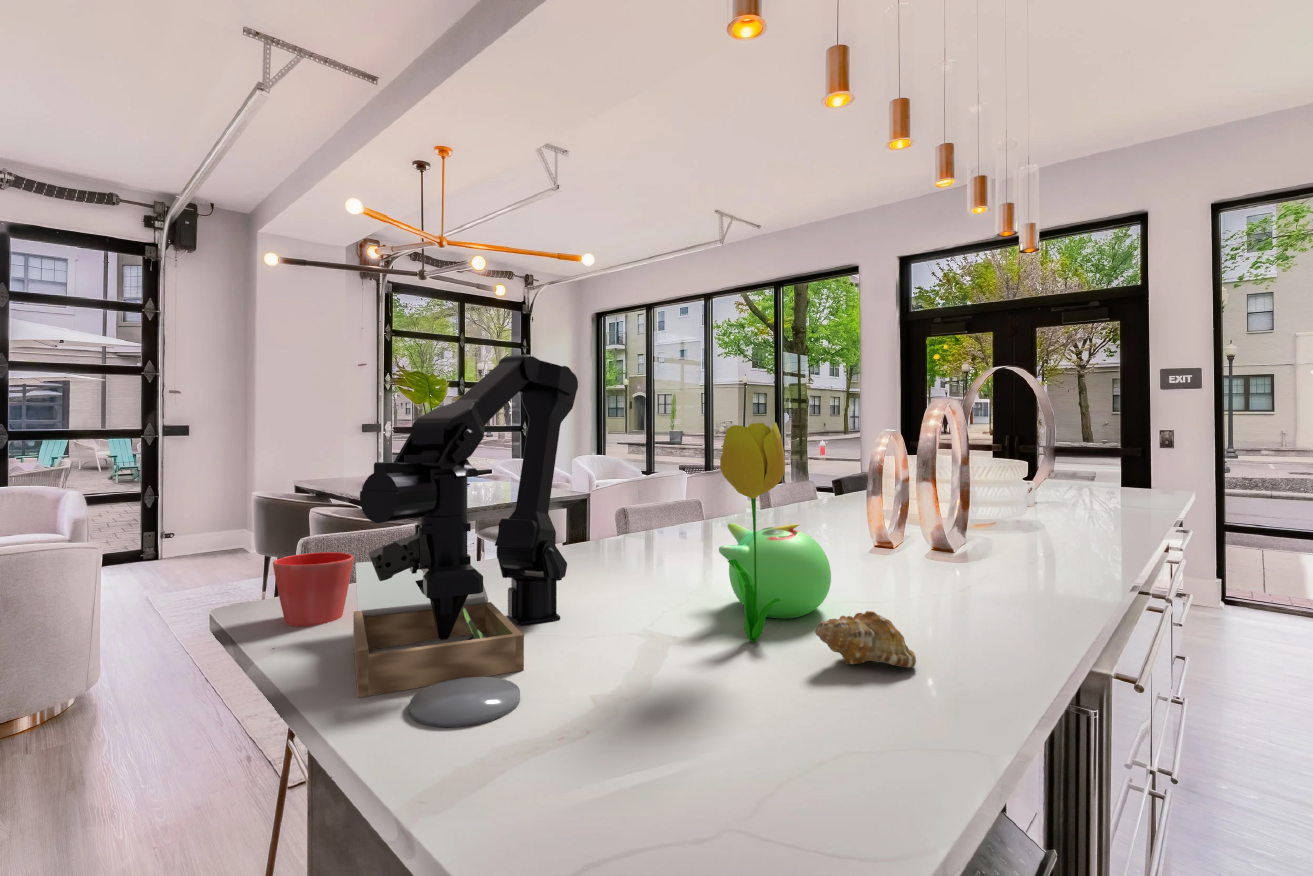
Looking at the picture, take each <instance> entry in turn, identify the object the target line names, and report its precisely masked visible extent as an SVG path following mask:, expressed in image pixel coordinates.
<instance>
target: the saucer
mask: <svg viewBox="0 0 1313 876" xmlns="http://www.w3.org/2000/svg"><path fill="white" fill-rule="evenodd" d="M520 702H521V690H520V687H519V686H518V685H517V684H515V683H514V682H512V681H511V680H507V679H503V678H501V677H500V678H499V677H494V676H493V677H491V676H485V677H468V678H459V679H453V680H449V681H444V682H441V683H437V684H435V685H431V686H426V688H423V689H421V690H420V691H418V692H416V693H415V694H414V695H413V696H412V698H411V699H409V715H410V717H411V718H412V720H414V721H416V722H417V723H420V724H423V725H425V726H430V727H438V728H463V727H469V726H475V725H480V724H485V723H488V722H489V723H490V722H491V721H494V720H497V719H499V718H502V717H505V716H506V715H508V714H510V713H511V712H513V711H514V710H515V709H517V707H518V706H519V704H520Z"/></svg>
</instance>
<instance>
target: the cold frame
mask: <svg viewBox="0 0 1313 876" xmlns="http://www.w3.org/2000/svg"><path fill="white" fill-rule="evenodd" d="M464 608H465V609H466V611H467V613H468V615H469V617H470V619H471V621H472V622H473V623H474V625H475V627H476V629H478V630H479V631H480V632H481V633H484V632H485V633H486V635H487V637H485V638H480V639H475V638H474V639H473V638H472V639H471V640H468V639H467V640H461V641H460V640H459V641H452V642H445V643H439V644H431V645H430V644H429V645H423V646H418V647H408V648H402V649H401V648H400V649H395V650H394V649H393V650H389V651H381V652H373V653H369V650H375V649H381V648H387V647H395V646H401V645H408V644H414V643H420V642H426V641H427V642H428V641H433V640H440V639H439V638H438V634H437V629H436V625H435V620H434V616H433V611H432V610H427V611H418V612H409V613H400V614H392V615H383V616H374V617H365V618H363V614H362V611H357V610H356V611H353V628H352V629H353V631H352V632H353V634H352V635H353V640H352V641H353V659H354V660H353V661H354V670H355V680H356V690H357V698H364V697H369V696H374V695H376V696H377V695H381V694H387V693H394V692H399V691H400V692H401V691H406V690H412V689H418V688H419V689H420V688H423V687H429V686H432V685H435V684H437V683H441V682H444V681H449V680H453V679H459V678H468V677H491V676H497V675H502V674H508V673H515V672H521V671H525V640H524V639H525V635H524V634H523V632H522V631H520V630H519V628H518V627H516V626H515V624H513V623H512V622H511V620H510V619H509V618H508V617H506V616H505V615H504V613H502V612H501V611H500V610H499V609H498V608H497V607H496V605H494V604H493V603H492V602H491V601H490V602H489V601H488V603H485V604H479V605H471V606H463V607H462V609H461V611H460V614H459V616H458V618H457V620H456V623H455V625H454V627H453V629H452V632H451V634H450V636H449V638H451V637H452V638H453V637H459V636H465V635H473V634H472V632H471V630H470V627H469V626H468V623H467V621H466V619H465V616H464V611H463V609H464Z"/></svg>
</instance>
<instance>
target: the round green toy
mask: <svg viewBox="0 0 1313 876" xmlns="http://www.w3.org/2000/svg"><path fill="white" fill-rule="evenodd" d="M800 525H801V524H800V523H792V524H786V525H782V526H781V525H780V526H774V527H773V526H771V527H765V528H762V529H760V530H756V572H757V605H758V609H759V612H760V613H761V611H762V609H763V608H764V606H766V605H767V604H768V603H770V602H771V601H772V600H774V599H775V598H776V599H777V598H778V599H780V601H778V602H775V603H774V604H773V606H772V607H771V608H770V610H769V612H768V614H767V617H766V618H769V619H779V620H780V619H781V620H784V619H785V620H788V619H796V618H800V617H803V616H805V615H808V614H810V613H811V612H813V611H815V610H816V609H817V608H819V607H820V606H821V605H822V603H824V601H825V599H826V598H827V596H828V594H829V592H830V588H831V583H832V572H831V565H830V562H829V561H830V560H829V559H828V557H827V554H826V552H825V551H824V549H823V547H822V546H821V544H819V542H817V541H816V539H814V538H813V537H812V536H810V535H808V534H806V533H805V532H802V531H800V530H797V529H795V528H797V527H799V526H800ZM727 528H728V530H729V532H730V534H731V535H732V536H733V537H734V539H735V540H736V542H737V544H735V545H734V544H723V545H720V546H719V547H718V552H719V554H721V556H723V557H724V559H726V560H727V561H729V560H735V559H736V560H737V561H738V562H739V563H740V564H741V565H742V566H743V567H744V569H745V570H746V571H747V572H748V574H749V575H750V576H751V579H752V582H753V585H754V535H753V530H750V529H748V528H746V527H744V526H742V525H739V524H737V523H734V522H729V523H727ZM728 575H729V582H730V585H731V588H732V591H733V593H734V595H735V596H736V598H737V599H738V601H739V602H740V604H742V605H743V606H744V600H743V596H742V592H741V589H740V586H739V582H738V576H737V573H736V570H735V568H734V567H733V566H732V565H731V564H730V563H729V562H728Z"/></svg>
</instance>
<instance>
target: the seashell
mask: <svg viewBox="0 0 1313 876" xmlns="http://www.w3.org/2000/svg"><path fill="white" fill-rule="evenodd" d="M814 633H815V635H816V636H817V637H818V638H819V639H820V640H821V641H822V643H825V644H826V645H827V647H828V648H829V649H830V650H831V651H832V652H834V653H838V654H840V655H841V657H842V658H843V659H844V663H845V664H846V665H855V664H859V665H860V664H863V663H865V662H868V661H873V662H880V663H884V664H887V665H892V666H897V667H903V668H913V667H915V666H916V665H917V664H916V663H917V657H916V654H915V652H914V651H913V650H911V649H910V648H909V647H908V645H907V643H906V641H905V637H904V636H903V634H902V632H900V630H899V629H897V628H896V626H895V625H894V624H893V622H892V621H891V620H890V619H889V618H886V617H884V616H882V615H880V614H877V613H876V612H875V611H872V610H866V611H865V612H864V613H862V612H857V613H856V614H855V615H854V616H852V615H848V616H845V615H841V616H839V618H838V619H836V618H830V619H828V620H823V621H821V622H818V623H817V624H816V626H815V629H814Z"/></svg>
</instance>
